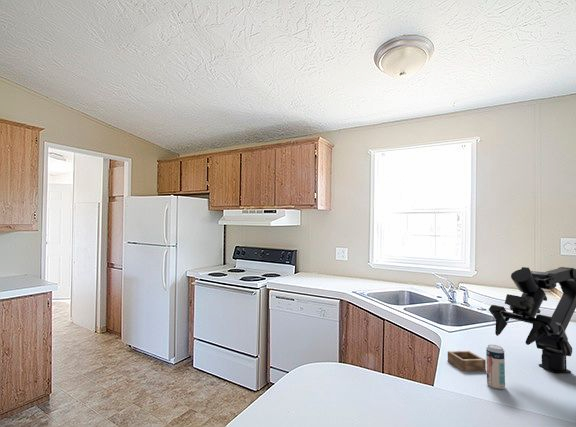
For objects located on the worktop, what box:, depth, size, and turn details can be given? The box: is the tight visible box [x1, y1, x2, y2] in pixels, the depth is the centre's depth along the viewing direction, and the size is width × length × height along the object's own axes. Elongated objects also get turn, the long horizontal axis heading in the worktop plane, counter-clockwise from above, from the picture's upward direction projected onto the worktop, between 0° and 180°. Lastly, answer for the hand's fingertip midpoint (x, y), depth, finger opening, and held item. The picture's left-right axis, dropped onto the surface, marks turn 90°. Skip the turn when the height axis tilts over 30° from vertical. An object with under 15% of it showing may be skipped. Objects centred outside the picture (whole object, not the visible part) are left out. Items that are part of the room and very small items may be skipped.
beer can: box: [485, 344, 506, 390], centre depth 98 cm, size 5×5×12 cm
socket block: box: [447, 350, 487, 372], centre depth 113 cm, size 8×8×4 cm
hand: (510, 339), depth 102 cm, fingers open, 9 cm apart
